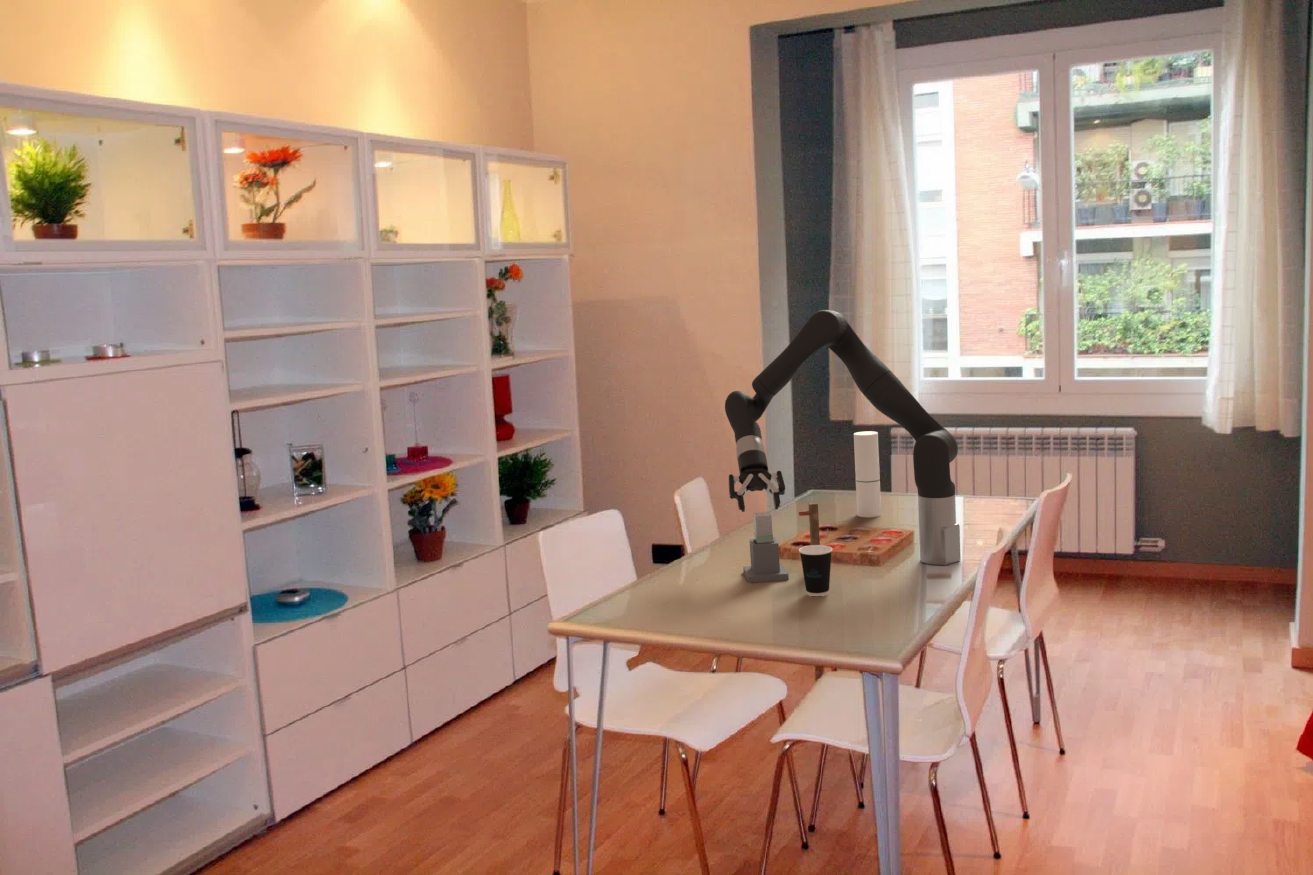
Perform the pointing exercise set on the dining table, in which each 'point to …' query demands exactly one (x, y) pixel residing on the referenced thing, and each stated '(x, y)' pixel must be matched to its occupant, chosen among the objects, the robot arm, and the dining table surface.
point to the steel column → (763, 528)
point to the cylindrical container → (867, 474)
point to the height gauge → (813, 522)
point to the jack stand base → (765, 563)
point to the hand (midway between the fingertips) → (760, 508)
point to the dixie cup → (816, 568)
